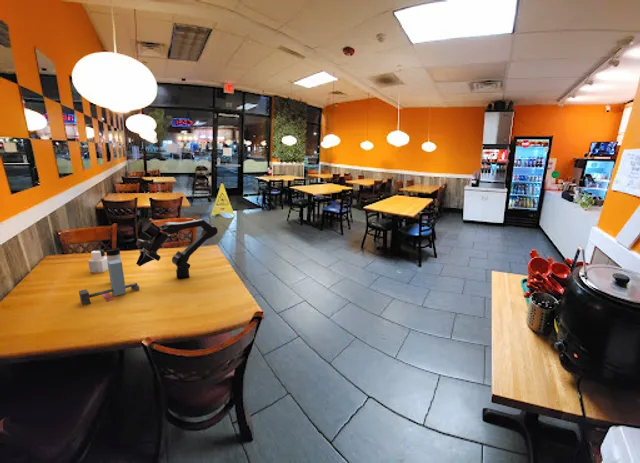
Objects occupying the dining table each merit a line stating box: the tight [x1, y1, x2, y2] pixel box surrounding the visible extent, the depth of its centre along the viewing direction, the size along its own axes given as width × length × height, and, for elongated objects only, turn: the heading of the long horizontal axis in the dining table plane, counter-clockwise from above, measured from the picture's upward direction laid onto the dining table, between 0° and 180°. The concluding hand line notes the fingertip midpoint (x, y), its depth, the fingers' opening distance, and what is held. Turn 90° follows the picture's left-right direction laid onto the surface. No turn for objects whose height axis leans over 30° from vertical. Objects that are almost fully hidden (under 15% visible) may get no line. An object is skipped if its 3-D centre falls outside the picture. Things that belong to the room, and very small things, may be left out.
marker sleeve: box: [108, 260, 127, 297], centre depth 149 cm, size 5×5×18 cm
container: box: [87, 248, 109, 274], centre depth 177 cm, size 8×8×13 cm
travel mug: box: [105, 247, 122, 262], centre depth 162 cm, size 6×7×20 cm
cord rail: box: [78, 282, 140, 307], centre depth 148 cm, size 24×10×6 cm, turn 138°
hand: (137, 265), depth 155 cm, fingers open, 3 cm apart
